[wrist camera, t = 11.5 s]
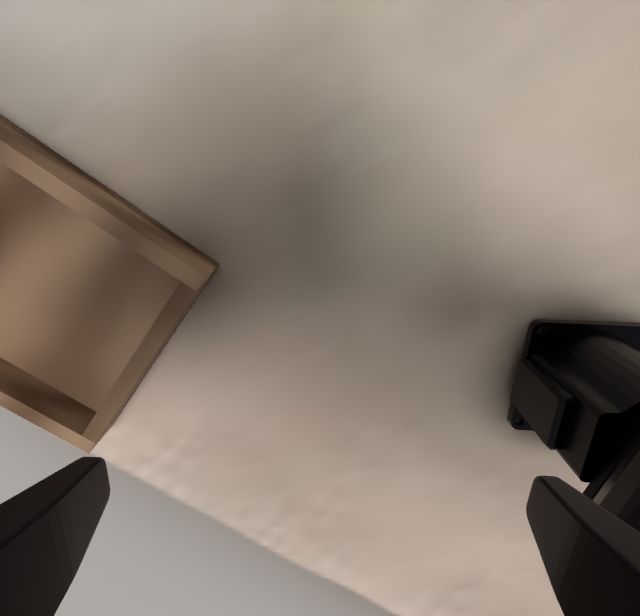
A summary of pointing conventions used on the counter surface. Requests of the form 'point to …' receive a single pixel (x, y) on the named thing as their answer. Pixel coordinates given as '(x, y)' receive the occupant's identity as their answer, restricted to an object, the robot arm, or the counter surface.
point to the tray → (81, 292)
